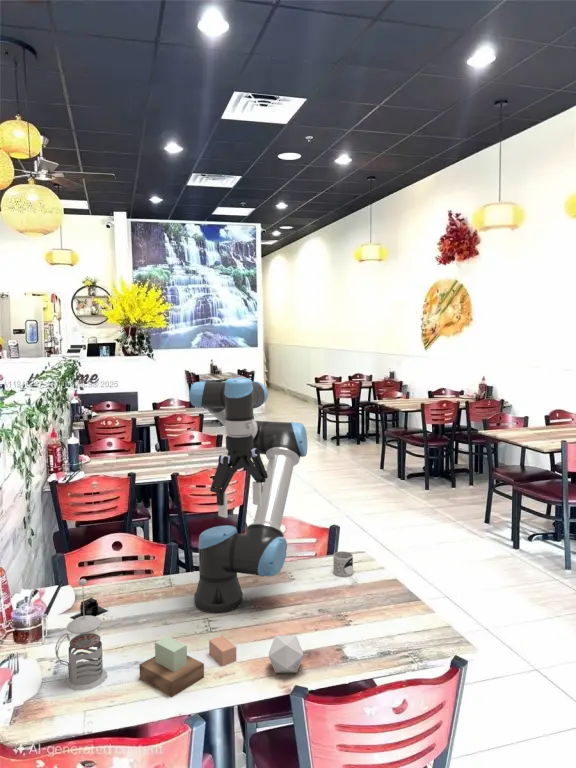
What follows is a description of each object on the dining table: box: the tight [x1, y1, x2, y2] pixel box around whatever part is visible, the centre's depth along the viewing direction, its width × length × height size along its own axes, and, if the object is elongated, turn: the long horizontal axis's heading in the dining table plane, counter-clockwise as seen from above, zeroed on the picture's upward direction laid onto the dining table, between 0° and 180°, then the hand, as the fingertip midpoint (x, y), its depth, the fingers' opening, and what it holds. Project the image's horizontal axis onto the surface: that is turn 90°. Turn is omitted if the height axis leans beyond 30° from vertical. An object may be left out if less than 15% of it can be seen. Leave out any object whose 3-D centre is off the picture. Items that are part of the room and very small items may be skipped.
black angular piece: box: [69, 597, 109, 620], centre depth 179 cm, size 12×7×5 cm, turn 142°
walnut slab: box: [139, 654, 205, 698], centre depth 145 cm, size 12×10×4 cm
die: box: [268, 635, 304, 674], centre depth 148 cm, size 8×9×10 cm
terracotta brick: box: [208, 635, 237, 667], centre depth 154 cm, size 7×4×4 cm, turn 36°
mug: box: [333, 551, 354, 578], centre depth 209 cm, size 10×7×7 cm
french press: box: [54, 578, 108, 691], centre depth 144 cm, size 10×12×25 cm
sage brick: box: [154, 635, 188, 672], centre depth 145 cm, size 7×4×5 cm, turn 51°
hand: (240, 510), depth 165 cm, fingers open, 13 cm apart
